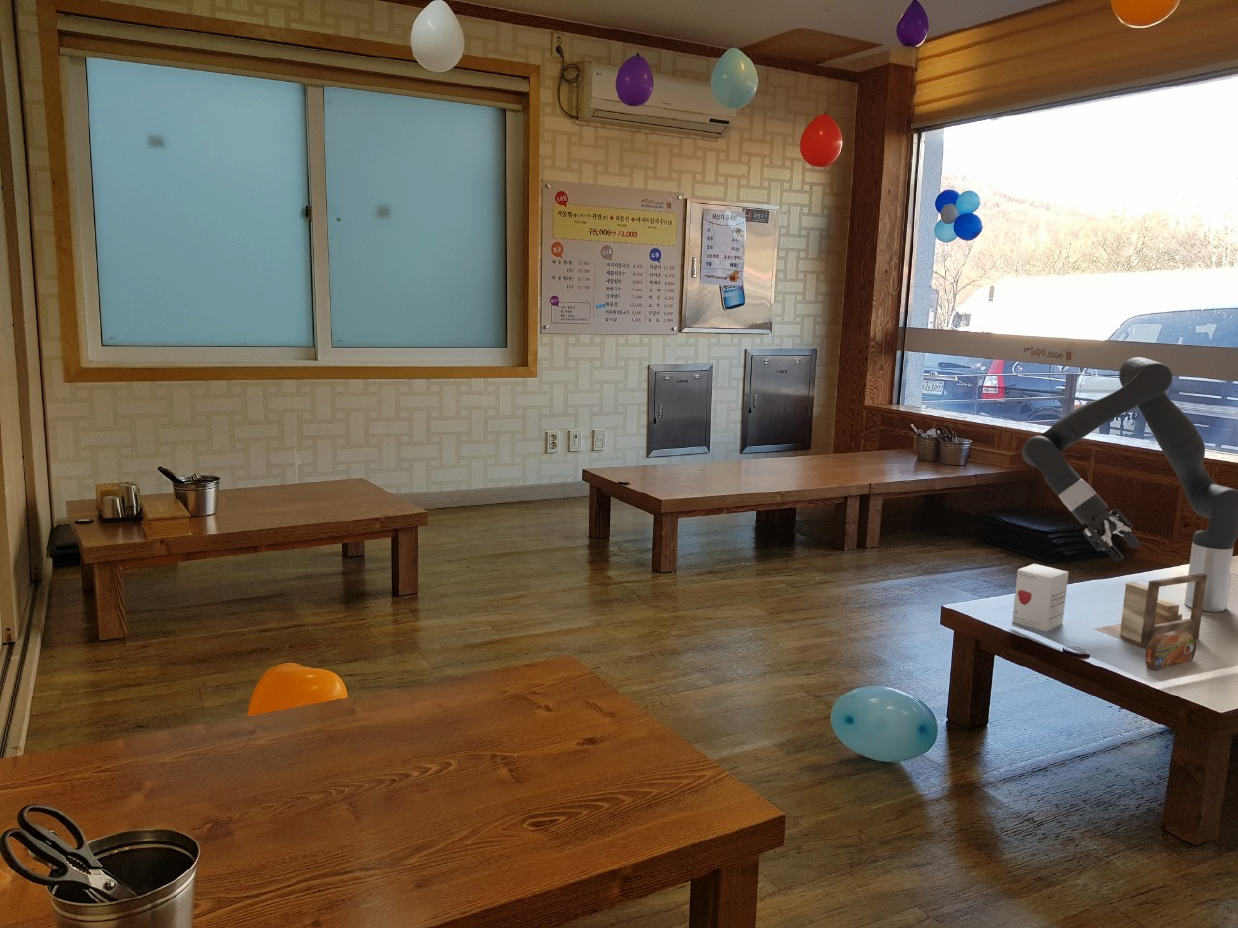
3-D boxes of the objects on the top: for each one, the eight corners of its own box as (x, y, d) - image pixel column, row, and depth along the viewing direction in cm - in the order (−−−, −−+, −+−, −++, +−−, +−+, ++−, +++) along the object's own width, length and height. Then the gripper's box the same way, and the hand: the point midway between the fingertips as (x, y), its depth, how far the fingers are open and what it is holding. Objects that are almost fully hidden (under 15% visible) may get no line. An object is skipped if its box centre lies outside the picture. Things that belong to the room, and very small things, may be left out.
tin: (1154, 677, 196) (1158, 640, 195) (1140, 672, 199) (1144, 635, 198) (1195, 665, 203) (1200, 630, 202) (1181, 660, 206) (1185, 625, 205)
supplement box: (1010, 626, 227) (1015, 568, 224) (1027, 618, 232) (1033, 562, 229) (1046, 636, 220) (1052, 577, 217) (1063, 628, 225) (1069, 571, 223)
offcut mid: (1157, 616, 224) (1159, 607, 224) (1181, 623, 219) (1182, 614, 219) (1148, 619, 222) (1149, 610, 222) (1172, 626, 217) (1173, 617, 217)
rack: (1144, 624, 229) (1152, 558, 226) (1197, 643, 216) (1207, 574, 213) (1093, 633, 222) (1100, 565, 219) (1144, 653, 210) (1153, 582, 207)
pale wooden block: (1128, 632, 219) (1134, 581, 217) (1149, 640, 214) (1155, 588, 212) (1119, 634, 218) (1126, 583, 216) (1140, 642, 213) (1147, 589, 211)
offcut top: (1160, 607, 224) (1161, 598, 223) (1178, 614, 219) (1179, 605, 218) (1149, 609, 223) (1150, 599, 222) (1167, 615, 218) (1168, 606, 217)
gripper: (1078, 503, 221) (1126, 557, 216) (1107, 484, 229) (1154, 535, 223) (1057, 518, 227) (1103, 571, 222) (1086, 499, 235) (1131, 549, 229)
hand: (1129, 553), depth 223 cm, fingers open, 8 cm apart
